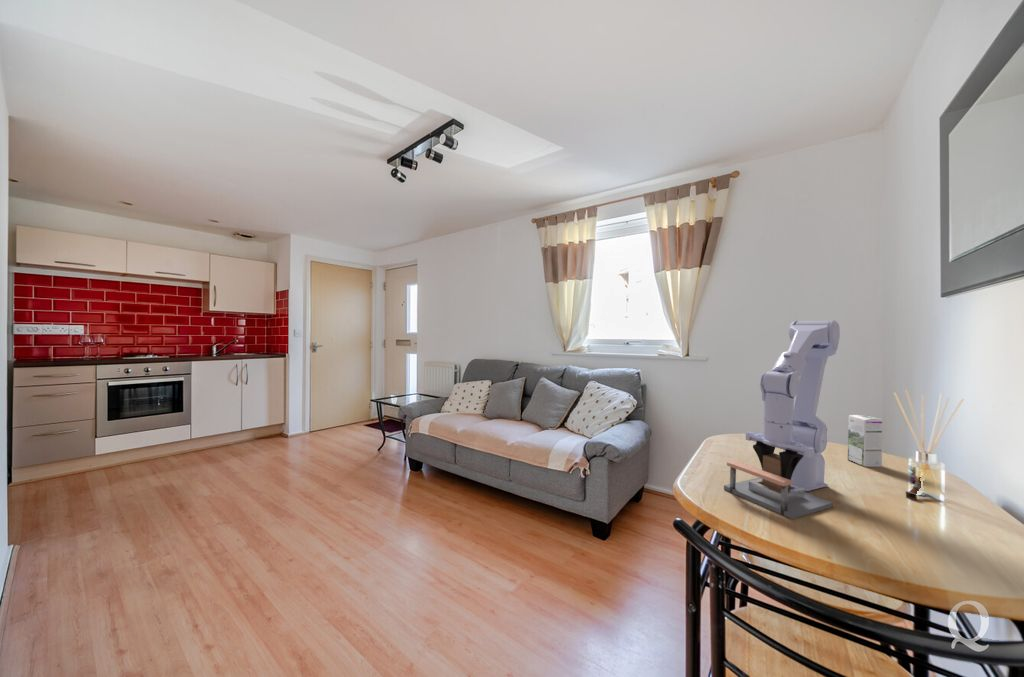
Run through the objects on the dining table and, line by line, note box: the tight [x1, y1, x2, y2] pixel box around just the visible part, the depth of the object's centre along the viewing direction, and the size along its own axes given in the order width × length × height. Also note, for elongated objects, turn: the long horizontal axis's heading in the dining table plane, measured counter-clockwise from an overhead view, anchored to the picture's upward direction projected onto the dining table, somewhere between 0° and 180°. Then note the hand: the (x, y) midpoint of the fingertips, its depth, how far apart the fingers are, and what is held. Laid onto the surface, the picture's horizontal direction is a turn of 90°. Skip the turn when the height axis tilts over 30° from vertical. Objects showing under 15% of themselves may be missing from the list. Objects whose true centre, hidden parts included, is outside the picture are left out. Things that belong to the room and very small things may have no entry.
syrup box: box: [847, 414, 884, 468], centre depth 114 cm, size 6×6×14 cm
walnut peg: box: [762, 452, 790, 492], centre depth 90 cm, size 4×4×8 cm
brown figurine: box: [905, 476, 921, 501], centre depth 92 cm, size 2×8×4 cm, turn 118°
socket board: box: [723, 460, 834, 520], centre depth 90 cm, size 16×16×8 cm
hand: (776, 477), depth 90 cm, fingers closed on walnut peg, 4 cm apart
